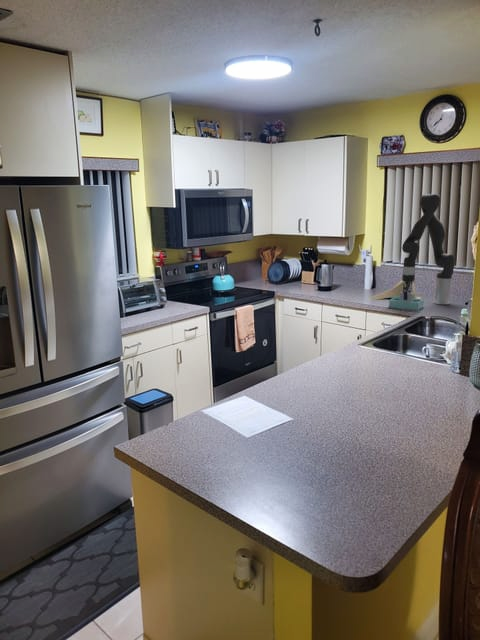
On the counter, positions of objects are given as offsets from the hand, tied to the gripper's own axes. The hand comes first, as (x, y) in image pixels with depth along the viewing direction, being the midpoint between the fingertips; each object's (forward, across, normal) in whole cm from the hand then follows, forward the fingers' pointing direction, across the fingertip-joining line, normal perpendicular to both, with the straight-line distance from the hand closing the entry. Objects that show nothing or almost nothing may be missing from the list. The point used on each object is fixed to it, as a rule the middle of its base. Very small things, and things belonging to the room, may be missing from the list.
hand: (406, 298), depth 314 cm
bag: (+6, -30, -14) cm, 34 cm away
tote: (+6, 0, 0) cm, 6 cm away
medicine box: (+5, 0, 0) cm, 5 cm away
